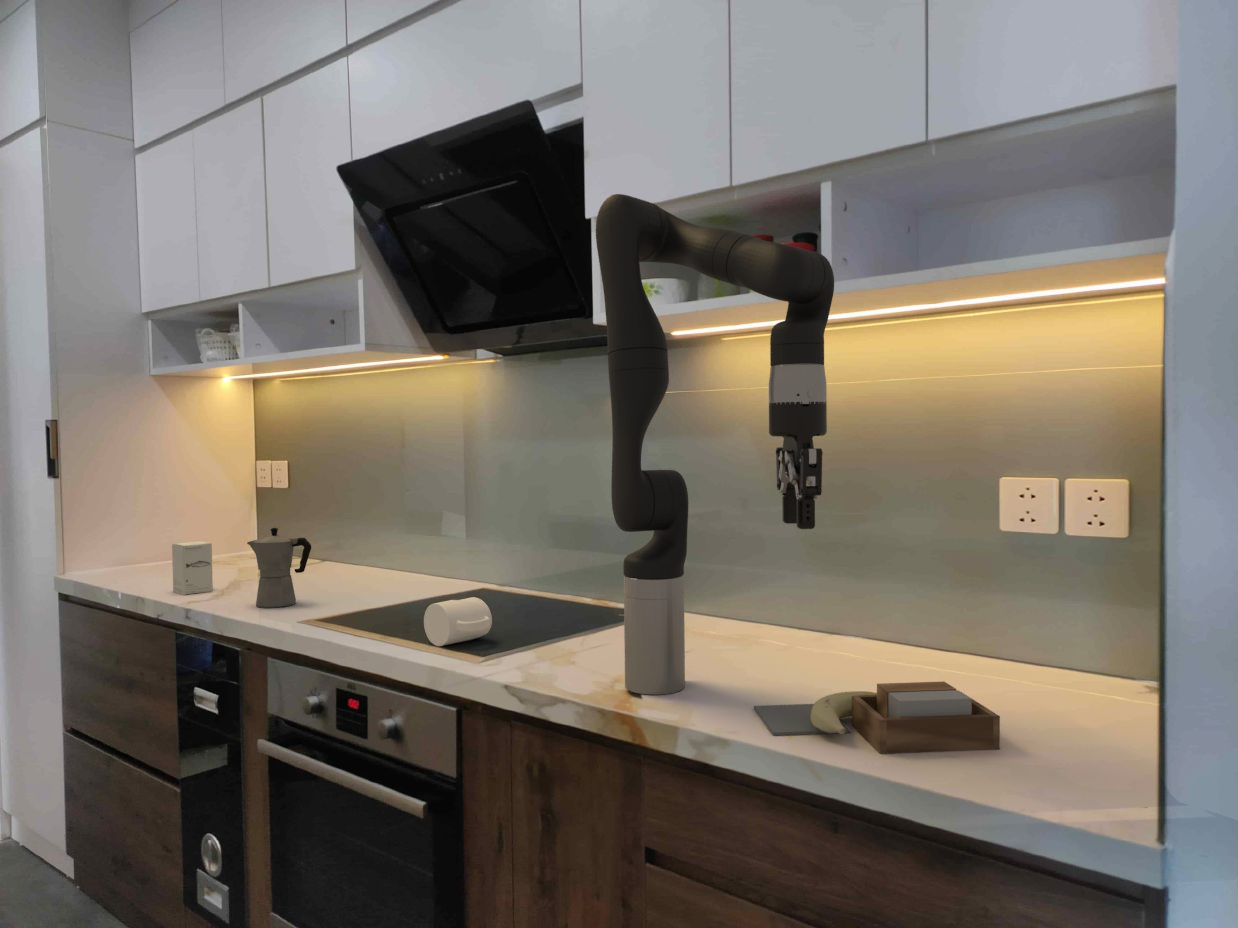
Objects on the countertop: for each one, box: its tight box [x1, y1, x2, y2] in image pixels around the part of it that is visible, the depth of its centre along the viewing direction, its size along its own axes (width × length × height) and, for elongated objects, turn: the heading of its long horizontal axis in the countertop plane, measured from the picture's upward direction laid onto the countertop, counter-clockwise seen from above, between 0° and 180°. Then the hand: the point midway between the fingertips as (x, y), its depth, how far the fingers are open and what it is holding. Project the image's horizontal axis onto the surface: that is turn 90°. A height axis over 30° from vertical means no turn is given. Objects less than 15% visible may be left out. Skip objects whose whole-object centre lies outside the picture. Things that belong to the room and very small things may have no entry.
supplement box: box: [171, 540, 214, 596], centre depth 222 cm, size 7×7×13 cm
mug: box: [423, 596, 493, 647], centre depth 164 cm, size 12×9×8 cm
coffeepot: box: [246, 527, 312, 609], centre depth 204 cm, size 15×9×18 cm, turn 85°
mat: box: [753, 703, 851, 737], centre depth 116 cm, size 11×10×1 cm
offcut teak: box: [876, 681, 958, 718], centre depth 111 cm, size 4×9×6 cm, turn 94°
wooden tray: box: [851, 692, 1001, 755], centre depth 109 cm, size 10×15×4 cm
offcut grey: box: [888, 689, 973, 718], centre depth 107 cm, size 4×9×6 cm, turn 94°
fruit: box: [811, 690, 877, 735], centre depth 114 cm, size 7×15×3 cm, turn 135°
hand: (798, 525), depth 116 cm, fingers open, 6 cm apart
